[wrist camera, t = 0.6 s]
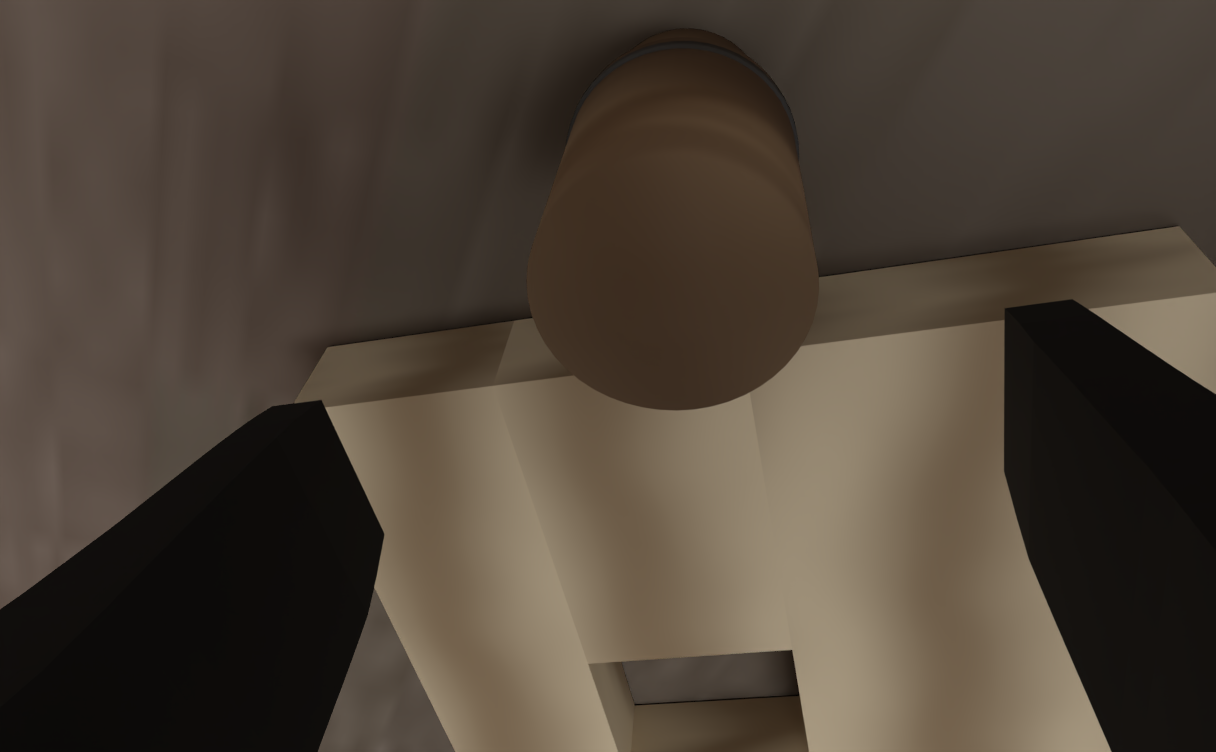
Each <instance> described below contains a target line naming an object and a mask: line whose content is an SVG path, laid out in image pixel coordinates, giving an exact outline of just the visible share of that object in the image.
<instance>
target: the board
mask: <svg viewBox="0 0 1216 752" xmlns="http://www.w3.org/2000/svg"><path fill="white" fill-rule="evenodd" d="M1069 299H1073V300H1075V301H1076V302H1078V303H1079V304H1081V305H1083V306H1084V307H1086V308H1087V309H1089V310H1090V311H1092V312H1093V313H1095V314H1096V315H1098V316H1099V317H1101V318H1102V319H1104V320H1105V321H1107V322H1108V323H1109V324H1111V325H1112V326H1114V327H1115V328H1117V329H1118V330H1120V331H1121V332H1123V333H1124V334H1126V335H1127V336H1128V337H1130V338H1131V339H1133V340H1134V341H1136V342H1137V343H1139V344H1140V345H1142V346H1143V347H1145V348H1146V349H1148V350H1149V351H1151V352H1152V353H1154V354H1155V355H1157V356H1158V357H1160V358H1161V359H1162V360H1164V361H1165V362H1167V363H1168V364H1170V365H1171V366H1173V367H1174V368H1176V369H1178V370H1179V371H1181V372H1182V373H1184V374H1185V375H1187V376H1188V377H1190V378H1191V379H1193V380H1194V381H1196V382H1197V383H1199V384H1201V385H1202V386H1204V387H1205V388H1207V389H1208V390H1210V391H1212V392H1213V393H1215V394H1216V267H1215V266H1214V265H1213V264H1212V263H1211V261H1210V260H1209V259H1208V258H1207V257H1206V256H1205V255H1204V254H1203V252H1202V251H1201V250H1200V249H1199V248H1198V247H1197V246H1196V245H1195V243H1194V242H1193V241H1192V240H1191V239H1190V238H1189V237H1188V236H1187V234H1186V233H1185V232H1184V231H1183V230H1182V229H1181V228H1180V227H1179V226H1177V227H1170V228H1163V229H1156V230H1149V231H1142V232H1135V233H1128V234H1121V235H1114V236H1107V237H1100V238H1093V239H1086V240H1079V241H1072V242H1064V243H1057V244H1050V245H1043V246H1036V247H1029V248H1022V249H1015V250H1008V251H1001V252H994V253H987V254H980V255H973V256H966V257H959V258H952V259H945V260H938V261H931V262H924V263H917V264H910V265H903V266H896V267H888V268H881V269H874V270H867V271H860V272H853V273H846V274H839V275H832V276H825V277H819V295H818V303H817V309H816V312H815V316H814V320H813V323H812V325H811V327H810V330H809V332H808V334H807V336H806V338H805V340H804V342H803V343H802V345H801V347H800V348H799V350H798V351H797V353H796V354H795V355H794V356H793V358H792V359H791V360H790V361H789V362H788V364H787V365H786V366H785V367H784V368H783V369H782V370H780V371H779V372H778V373H777V374H776V375H775V376H774V377H773V378H771V379H770V380H768V381H767V382H766V383H764V384H763V385H762V386H760V387H758V388H757V389H755V390H753V391H751V392H749V393H748V394H746V395H744V396H741V397H739V398H736V399H734V400H732V401H729V402H726V403H722V404H719V405H715V406H712V407H706V408H700V409H694V410H679V411H674V410H657V409H650V408H643V407H639V406H635V405H631V404H627V403H624V402H621V401H618V400H616V399H613V398H610V397H608V396H606V395H604V394H602V393H600V392H598V391H596V390H594V389H592V388H591V387H589V386H588V385H586V384H585V383H583V382H582V381H580V380H579V379H578V378H576V377H575V376H574V375H573V374H572V373H570V372H569V371H568V370H567V369H566V368H565V367H564V366H563V365H562V364H561V363H560V362H559V361H558V360H557V359H556V358H555V356H554V355H553V354H552V352H551V351H550V350H549V348H548V347H547V346H546V344H545V343H544V341H543V339H542V337H541V335H540V333H539V332H538V330H537V327H536V325H535V322H534V319H533V318H529V319H522V320H515V321H508V322H501V323H494V324H487V325H480V326H473V327H466V328H459V329H452V330H445V331H438V332H431V333H424V334H417V335H410V336H403V337H396V338H389V339H382V340H375V341H368V342H361V343H354V344H346V345H339V346H332V347H327V349H326V350H325V352H324V354H323V355H322V357H321V359H320V360H319V362H318V364H317V365H316V367H315V369H314V370H313V372H312V374H311V375H310V377H309V379H308V380H307V382H306V384H305V385H304V387H303V388H302V390H301V392H300V393H299V395H298V397H297V398H296V400H295V402H294V403H301V402H309V401H316V400H322V402H323V404H324V406H325V409H326V411H327V413H328V415H329V417H330V419H331V421H332V423H333V426H334V428H335V430H336V432H337V434H338V436H339V438H340V440H341V443H342V445H343V447H344V449H345V451H346V453H347V455H348V457H349V459H350V462H351V464H352V466H353V468H354V470H355V472H356V474H357V476H358V479H359V481H360V483H361V485H362V487H363V489H364V491H365V493H366V496H367V498H368V500H369V502H370V504H371V506H372V508H373V510H374V513H375V515H376V517H377V519H378V521H379V523H380V525H381V527H382V530H383V532H384V534H385V535H384V541H383V546H382V551H381V556H380V561H379V567H378V572H377V577H376V582H375V586H374V588H375V590H376V592H377V594H378V596H379V598H380V600H381V602H382V604H383V606H384V608H385V610H386V612H387V614H388V616H389V618H390V620H391V622H392V624H393V626H394V628H395V630H396V632H397V634H398V636H399V638H400V640H401V642H402V644H403V646H404V648H405V650H406V652H407V655H408V657H409V659H410V661H411V663H412V665H413V667H414V669H415V671H416V673H417V675H418V677H419V679H420V681H421V683H422V685H423V687H424V689H425V691H426V693H427V695H428V697H429V699H430V701H431V703H432V705H433V707H434V709H435V711H436V713H437V715H438V717H439V719H440V721H441V724H442V726H443V728H444V730H445V732H446V734H447V736H448V738H449V740H450V742H451V744H452V746H453V748H454V750H455V752H1111V750H1110V747H1109V745H1108V743H1107V740H1106V738H1105V736H1104V733H1103V731H1102V729H1101V726H1100V724H1099V722H1098V719H1097V717H1096V715H1095V713H1094V710H1093V708H1092V706H1091V703H1090V701H1089V699H1088V696H1087V694H1086V692H1085V689H1084V687H1083V685H1082V683H1081V680H1080V678H1079V676H1078V673H1077V671H1076V669H1075V666H1074V664H1073V662H1072V659H1071V657H1070V655H1069V653H1068V650H1067V648H1066V646H1065V643H1064V641H1063V639H1062V636H1061V634H1060V632H1059V629H1058V627H1057V625H1056V622H1055V620H1054V618H1053V615H1052V613H1051V611H1050V608H1049V606H1048V604H1047V601H1046V599H1045V597H1044V594H1043V592H1042V590H1041V587H1040V585H1039V583H1038V580H1037V578H1036V575H1035V573H1034V571H1033V568H1032V566H1031V563H1030V561H1029V559H1028V555H1027V552H1026V548H1025V545H1024V541H1023V538H1022V535H1021V531H1020V528H1019V524H1018V521H1017V517H1016V514H1015V510H1014V506H1013V503H1012V499H1011V495H1010V492H1009V488H1008V484H1007V481H1006V477H1005V473H1004V317H1005V308H1010V307H1017V306H1025V305H1032V304H1039V303H1047V302H1054V301H1062V300H1069ZM294 403H293V404H294ZM782 650H792V651H793V657H794V663H795V669H796V675H797V681H798V687H799V694H800V696H788V697H771V698H754V699H737V700H721V701H704V702H687V703H670V704H653V705H636V706H635V705H634V701H633V698H632V695H631V692H630V689H629V685H628V682H627V679H626V676H625V673H624V669H623V666H622V663H621V662H622V661H636V660H651V659H665V658H680V657H695V656H709V655H724V654H738V653H753V652H767V651H782Z"/></svg>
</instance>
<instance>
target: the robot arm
mask: <svg viewBox="0 0 1216 752" xmlns="http://www.w3.org/2000/svg"><path fill="white" fill-rule="evenodd" d="M1004 473H1005V477H1006V481H1007V484H1008V488H1009V492H1010V495H1011V499H1012V503H1013V506H1014V510H1015V514H1016V517H1017V521H1018V524H1019V528H1020V531H1021V535H1022V538H1023V541H1024V545H1025V548H1026V552H1027V555H1028V559H1029V561H1030V563H1031V566H1032V568H1033V571H1034V573H1035V575H1036V578H1037V580H1038V583H1039V585H1040V587H1041V590H1042V592H1043V594H1044V597H1045V599H1046V601H1047V604H1048V606H1049V608H1050V611H1051V613H1052V615H1053V618H1054V620H1055V622H1056V625H1057V627H1058V629H1059V632H1060V634H1061V636H1062V639H1063V641H1064V643H1065V646H1066V648H1067V650H1068V653H1069V655H1070V657H1071V659H1072V662H1073V664H1074V666H1075V669H1076V671H1077V673H1078V676H1079V678H1080V680H1081V683H1082V685H1083V687H1084V689H1085V692H1086V694H1087V696H1088V699H1089V701H1090V703H1091V706H1092V708H1093V710H1094V713H1095V715H1096V717H1097V719H1098V722H1099V724H1100V726H1101V729H1102V731H1103V733H1104V736H1105V738H1106V740H1107V743H1108V745H1109V747H1110V750H1111V752H1216V394H1215V393H1213V392H1212V391H1210V390H1208V389H1207V388H1205V387H1204V386H1202V385H1201V384H1199V383H1197V382H1196V381H1194V380H1193V379H1191V378H1190V377H1188V376H1187V375H1185V374H1184V373H1182V372H1181V371H1179V370H1178V369H1176V368H1174V367H1173V366H1171V365H1170V364H1168V363H1167V362H1165V361H1164V360H1162V359H1161V358H1160V357H1158V356H1157V355H1155V354H1154V353H1152V352H1151V351H1149V350H1148V349H1146V348H1145V347H1143V346H1142V345H1140V344H1139V343H1137V342H1136V341H1134V340H1133V339H1131V338H1130V337H1128V336H1127V335H1126V334H1124V333H1123V332H1121V331H1120V330H1118V329H1117V328H1115V327H1114V326H1112V325H1111V324H1109V323H1108V322H1107V321H1105V320H1104V319H1102V318H1101V317H1099V316H1098V315H1096V314H1095V313H1093V312H1092V311H1090V310H1089V309H1087V308H1086V307H1084V306H1083V305H1081V304H1079V303H1078V302H1076V301H1075V300H1073V299H1069V300H1062V301H1054V302H1047V303H1039V304H1032V305H1025V306H1017V307H1010V308H1005V317H1004ZM384 535H385V534H384V532H383V530H382V527H381V525H380V523H379V521H378V519H377V517H376V515H375V513H374V510H373V508H372V506H371V504H370V502H369V500H368V498H367V496H366V493H365V491H364V489H363V487H362V485H361V483H360V481H359V479H358V476H357V474H356V472H355V470H354V468H353V466H352V464H351V462H350V459H349V457H348V455H347V453H346V451H345V449H344V447H343V445H342V443H341V440H340V438H339V436H338V434H337V432H336V430H335V428H334V426H333V423H332V421H331V419H330V417H329V415H328V413H327V411H326V409H325V406H324V404H323V402H322V400H316V401H309V402H301V403H294V404H287V405H279V406H272V407H270V408H269V409H267V410H266V411H264V412H262V413H261V414H259V415H258V416H256V417H255V418H253V419H252V420H250V421H249V422H247V423H246V424H244V425H243V426H242V427H240V428H239V429H237V430H236V431H235V432H233V433H232V434H231V435H229V436H228V437H227V438H225V439H224V440H223V441H221V442H220V443H219V444H217V445H216V446H215V447H214V448H212V449H211V450H210V451H208V452H207V453H206V454H204V455H203V456H202V457H201V458H199V459H198V460H197V461H196V462H194V463H193V464H192V465H190V466H189V467H188V468H187V469H185V470H184V471H183V472H182V473H180V474H179V475H178V476H177V477H175V478H174V479H173V480H171V481H170V482H169V483H168V484H166V485H165V486H164V487H163V488H161V489H160V490H159V491H158V492H156V493H155V494H154V495H152V496H151V497H150V498H149V499H147V500H146V501H145V502H144V503H142V504H141V505H140V506H139V507H137V508H136V509H135V510H133V511H132V512H131V513H130V514H128V515H127V516H126V517H125V518H123V519H122V520H121V521H120V522H118V523H117V524H116V525H114V526H113V527H112V528H111V529H109V530H108V531H107V532H105V533H104V534H102V535H101V536H100V537H98V538H97V539H96V540H94V541H93V542H92V543H90V544H89V545H88V546H86V547H85V548H84V549H82V550H81V551H80V552H78V553H77V554H76V555H74V556H73V557H72V558H70V559H69V560H68V561H66V562H65V563H63V564H62V565H61V566H59V567H58V568H57V569H55V570H54V571H53V572H51V573H50V574H49V575H47V576H46V577H45V578H43V579H42V580H41V581H39V582H38V583H37V584H35V585H34V586H33V587H31V588H30V589H29V590H27V591H26V592H24V593H23V594H22V595H20V596H19V597H17V598H16V599H14V600H13V601H12V602H10V603H9V604H7V605H6V606H4V607H3V608H2V609H0V752H318V749H319V746H320V744H321V741H322V738H323V736H324V733H325V730H326V728H327V725H328V722H329V720H330V717H331V714H332V712H333V709H334V706H335V704H336V701H337V698H338V696H339V693H340V690H341V688H342V685H343V682H344V680H345V677H346V674H347V671H348V669H349V666H350V663H351V660H352V658H353V655H354V652H355V649H356V647H357V644H358V641H359V638H360V636H361V633H362V630H363V627H364V624H365V621H366V618H367V615H368V611H369V607H370V603H371V599H372V594H373V590H374V586H375V582H376V577H377V572H378V567H379V561H380V556H381V551H382V546H383V541H384Z"/></svg>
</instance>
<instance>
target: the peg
mask: <svg viewBox="0 0 1216 752" xmlns="http://www.w3.org/2000/svg"><path fill="white" fill-rule="evenodd" d="M526 282H527V295H528V301H529V306H530V310H531V314H532V317H533V319H534V322H535V325H536V327H537V330H538V332H539V333H540V335H541V337H542V339H543V341H544V343H545V344H546V346H547V347H548V348H549V350H550V351H551V352H552V354H553V355H554V356H555V358H556V359H557V360H558V361H559V362H560V363H561V364H562V365H563V366H564V367H565V368H566V369H567V370H568V371H569V372H570V373H572V374H573V375H574V376H575V377H576V378H578V379H579V380H580V381H582V382H583V383H585V384H586V385H588V386H589V387H591V388H592V389H594V390H596V391H598V392H600V393H602V394H604V395H606V396H608V397H610V398H613V399H616V400H618V401H621V402H624V403H627V404H631V405H635V406H639V407H643V408H650V409H657V410H674V411H679V410H694V409H700V408H706V407H712V406H715V405H719V404H722V403H726V402H729V401H732V400H734V399H736V398H739V397H741V396H744V395H746V394H748V393H749V392H751V391H753V390H755V389H757V388H758V387H760V386H762V385H763V384H764V383H766V382H767V381H768V380H770V379H771V378H773V377H774V376H775V375H776V374H777V373H778V372H779V371H780V370H782V369H783V368H784V367H785V366H786V365H787V364H788V362H789V361H790V360H791V359H792V358H793V356H794V355H795V354H796V353H797V351H798V350H799V348H800V347H801V345H802V343H803V342H804V340H805V338H806V336H807V334H808V332H809V330H810V327H811V325H812V323H813V320H814V316H815V312H816V309H817V303H818V295H819V272H818V266H817V261H816V255H815V250H814V244H813V239H812V233H811V227H810V222H809V216H808V211H807V205H806V200H805V194H804V188H803V183H802V177H801V172H800V166H799V143H798V138H797V132H796V127H795V122H794V119H793V116H792V113H791V110H790V108H789V106H788V104H787V102H786V100H785V98H784V96H783V95H782V93H781V92H780V90H779V89H778V87H777V86H776V84H775V83H774V81H773V80H772V79H771V77H770V76H769V75H768V74H767V73H766V72H765V71H764V70H763V69H762V68H761V67H760V66H759V65H758V64H757V63H755V62H754V61H753V60H752V59H751V58H749V57H748V56H746V55H745V53H744V52H743V51H742V50H741V49H739V48H738V47H737V46H736V45H735V44H733V43H732V42H730V41H729V40H727V39H725V38H724V37H721V36H719V35H717V34H715V33H711V32H708V31H704V30H698V29H675V30H669V31H665V32H662V33H659V34H656V35H654V36H652V37H650V38H648V39H646V40H644V41H643V42H641V43H640V44H638V45H637V46H636V47H635V48H633V49H632V50H630V51H629V52H627V53H625V54H623V55H622V56H620V57H619V58H617V59H616V60H615V61H613V62H612V63H611V64H610V65H608V66H607V67H606V68H605V69H604V70H603V71H602V72H601V73H600V74H599V75H598V77H597V78H596V79H595V80H594V81H593V82H592V84H591V85H590V86H589V88H588V89H587V90H586V92H585V93H584V95H583V97H582V98H581V100H580V102H579V104H578V106H577V108H576V110H575V113H574V116H573V118H572V121H571V124H570V127H569V131H568V136H567V140H566V148H565V151H564V154H563V157H562V160H561V163H560V165H559V168H558V171H557V174H556V177H555V180H554V183H553V186H552V189H551V192H550V195H549V198H548V201H547V204H546V207H545V210H544V213H543V215H542V218H541V221H540V224H539V227H538V230H537V233H536V236H535V239H534V242H533V245H532V248H531V252H530V256H529V261H528V267H527V281H526Z"/></svg>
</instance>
